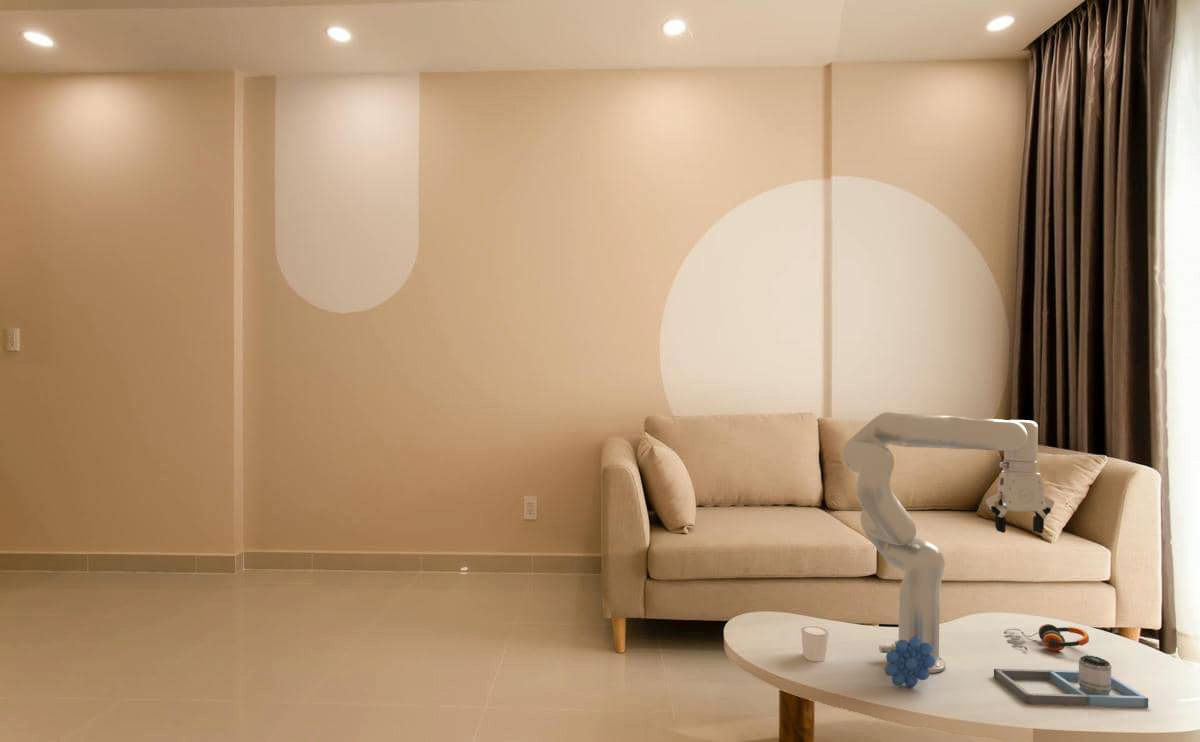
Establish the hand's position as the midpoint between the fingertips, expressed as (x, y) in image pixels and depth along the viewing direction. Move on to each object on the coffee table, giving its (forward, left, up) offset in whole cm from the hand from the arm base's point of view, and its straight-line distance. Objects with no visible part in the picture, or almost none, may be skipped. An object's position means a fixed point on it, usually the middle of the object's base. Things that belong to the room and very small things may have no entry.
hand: (1019, 531), depth 184 cm
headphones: (+13, +9, -34) cm, 37 cm away
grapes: (-36, -18, -34) cm, 52 cm away
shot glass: (-54, -3, -34) cm, 64 cm away
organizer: (+1, -19, -33) cm, 38 cm away
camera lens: (+7, -19, -34) cm, 39 cm away
